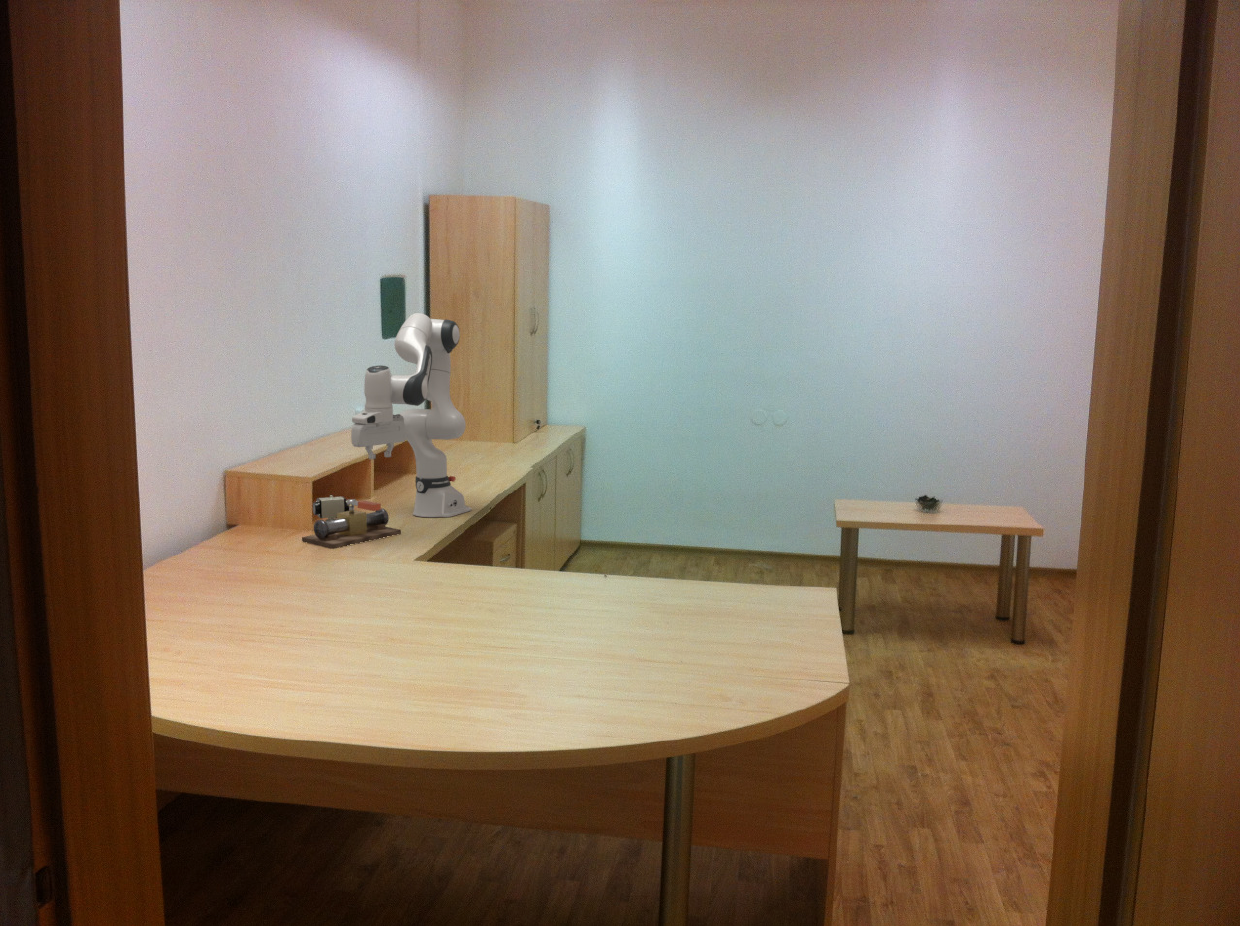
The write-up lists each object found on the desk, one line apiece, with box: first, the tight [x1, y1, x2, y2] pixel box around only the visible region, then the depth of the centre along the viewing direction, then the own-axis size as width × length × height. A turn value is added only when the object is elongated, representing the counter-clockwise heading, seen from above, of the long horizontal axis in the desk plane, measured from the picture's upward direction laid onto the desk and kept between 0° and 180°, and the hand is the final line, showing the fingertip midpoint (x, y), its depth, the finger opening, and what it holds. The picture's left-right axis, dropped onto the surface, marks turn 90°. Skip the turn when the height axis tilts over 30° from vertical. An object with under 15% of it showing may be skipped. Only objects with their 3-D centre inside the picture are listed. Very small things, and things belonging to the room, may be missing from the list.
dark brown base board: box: [301, 524, 402, 550], centre depth 343 cm, size 28×16×3 cm, turn 143°
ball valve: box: [313, 505, 389, 539], centre depth 343 cm, size 26×6×9 cm, turn 143°
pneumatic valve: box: [312, 494, 349, 521], centre depth 355 cm, size 6×12×12 cm, turn 117°
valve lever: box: [346, 498, 382, 512], centre depth 338 cm, size 14×3×2 cm, turn 53°
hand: (380, 458), depth 338 cm, fingers open, 5 cm apart
